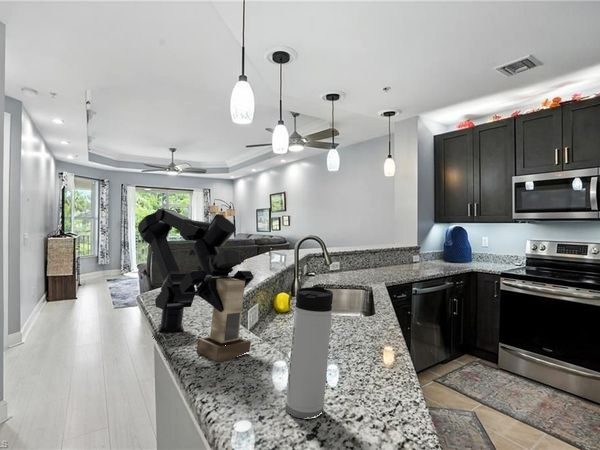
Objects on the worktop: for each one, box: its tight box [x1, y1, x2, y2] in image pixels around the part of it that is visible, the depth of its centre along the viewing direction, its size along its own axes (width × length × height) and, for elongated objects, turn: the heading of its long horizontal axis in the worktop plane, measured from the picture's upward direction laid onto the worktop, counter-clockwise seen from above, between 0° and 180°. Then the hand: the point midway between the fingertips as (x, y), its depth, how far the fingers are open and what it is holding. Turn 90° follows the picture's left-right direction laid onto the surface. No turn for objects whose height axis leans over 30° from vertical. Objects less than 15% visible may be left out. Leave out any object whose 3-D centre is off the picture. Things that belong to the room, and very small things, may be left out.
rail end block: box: [209, 278, 246, 343], centre depth 77 cm, size 5×5×14 cm
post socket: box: [196, 336, 251, 363], centre depth 76 cm, size 8×9×3 cm
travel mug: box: [284, 285, 334, 419], centre depth 54 cm, size 6×7×20 cm
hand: (231, 310), depth 76 cm, fingers closed on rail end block, 5 cm apart
